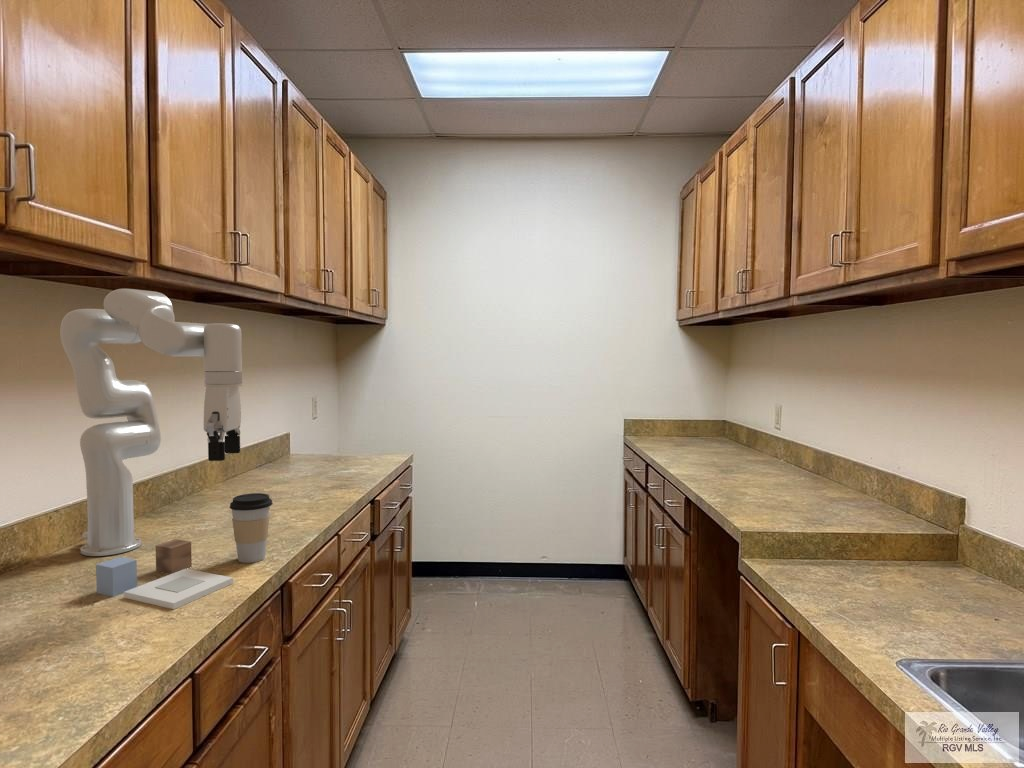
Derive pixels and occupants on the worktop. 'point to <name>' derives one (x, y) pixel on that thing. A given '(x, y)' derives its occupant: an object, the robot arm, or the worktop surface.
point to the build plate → (178, 588)
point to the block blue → (116, 576)
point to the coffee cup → (251, 525)
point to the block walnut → (173, 556)
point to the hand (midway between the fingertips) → (225, 456)
